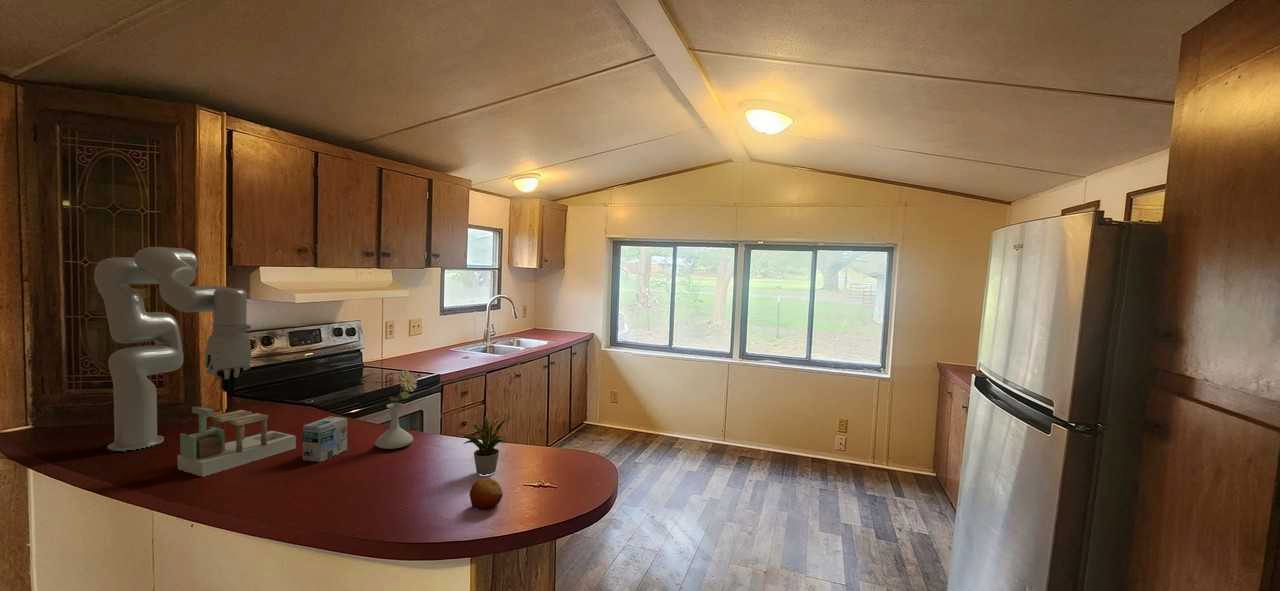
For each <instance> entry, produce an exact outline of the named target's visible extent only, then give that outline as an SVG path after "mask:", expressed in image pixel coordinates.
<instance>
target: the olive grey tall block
mask: <svg viewBox="0 0 1280 591" xmlns="http://www.w3.org/2000/svg"><path fill="white" fill-rule="evenodd" d="M191 413H192V414H197V415H198V432H195V433H190V434H187V433H180V434H179V435H180V436H179V439H180V440H179V441H180V443H179V444H180V449H179V451H180V452H179V455H180V456H181V457H185V458H188V459H192V460H196V437H199V436H204V435H208V434H214V435H218V436H221V452H224V451H225V443H226V441H225V440H226V430H225V429H222V428H220V429H219V428H214V426H209V427H207V421H208V420H207V417H212V416H215V415H214V413H215V412H214V409H212V408H209V407H208V408H207V407H203V406H199V405H198V406H197V405H196V406H192V407H191Z"/></svg>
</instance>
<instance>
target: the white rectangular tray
mask: <svg viewBox="0 0 1280 591" xmlns="http://www.w3.org/2000/svg"><path fill="white" fill-rule="evenodd" d="M296 448H297V436H296V435H293V434H288V433H284V432H280V431H275V430H268V431H267V444H266V445H261V433H257V434H254V435H250V436H246V437H244V439H243V440H242V452H236V439H234V440H231V441H228V442H225V451H224V452H221V453H220V454H217V455H213V456H210V457H206V458H203V459H198V458H196V460H192V459H188V458H185V457H181V456H180V454H178V455H177V470H178V469H179V471H181V470H183V471H182V472H185V473H188V472H189V473H188V474H191V473H192V475H194V474H195V475H194V476H198V477H201V476H202V478H204V477H207V475H208V476H210V474H211V475H213V473H214V474H217V473H220V472H222V471H223V470H224V471H227V470H230V469H233V468H236V467H240V466H243V465H246V464H249V463H253V462H255V461H259V460H262V459H265V458H268V457H272V456H275V455H278V454H281V453H285V452H287V451H291V450H294V449H296ZM252 461H253V462H252Z"/></svg>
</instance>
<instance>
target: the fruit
mask: <svg viewBox="0 0 1280 591" xmlns="http://www.w3.org/2000/svg"><path fill="white" fill-rule="evenodd" d="M469 499H470V503H471V509H472V510H474V509H477V510H479V511H492V510H494V509H495V508H496V507H497V506H498V505H499V504H500V502H501V500H502V499H503V490H502V487H501V485H500V484H499V482H497V481H496V480H495V479H492V478H490V477H481V478H478V479H477V480H476V481H475V482H474V483H473V484H472V485H471V488H470V491H469ZM491 509H492V510H491Z"/></svg>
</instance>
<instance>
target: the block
mask: <svg viewBox="0 0 1280 591" xmlns="http://www.w3.org/2000/svg"><path fill="white" fill-rule="evenodd" d="M220 453H221V436H218V435H214V434H206V435H202V436H198V437H196V458H198V459H203V458H206V457H210V456H213V455H217V454H220Z"/></svg>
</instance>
